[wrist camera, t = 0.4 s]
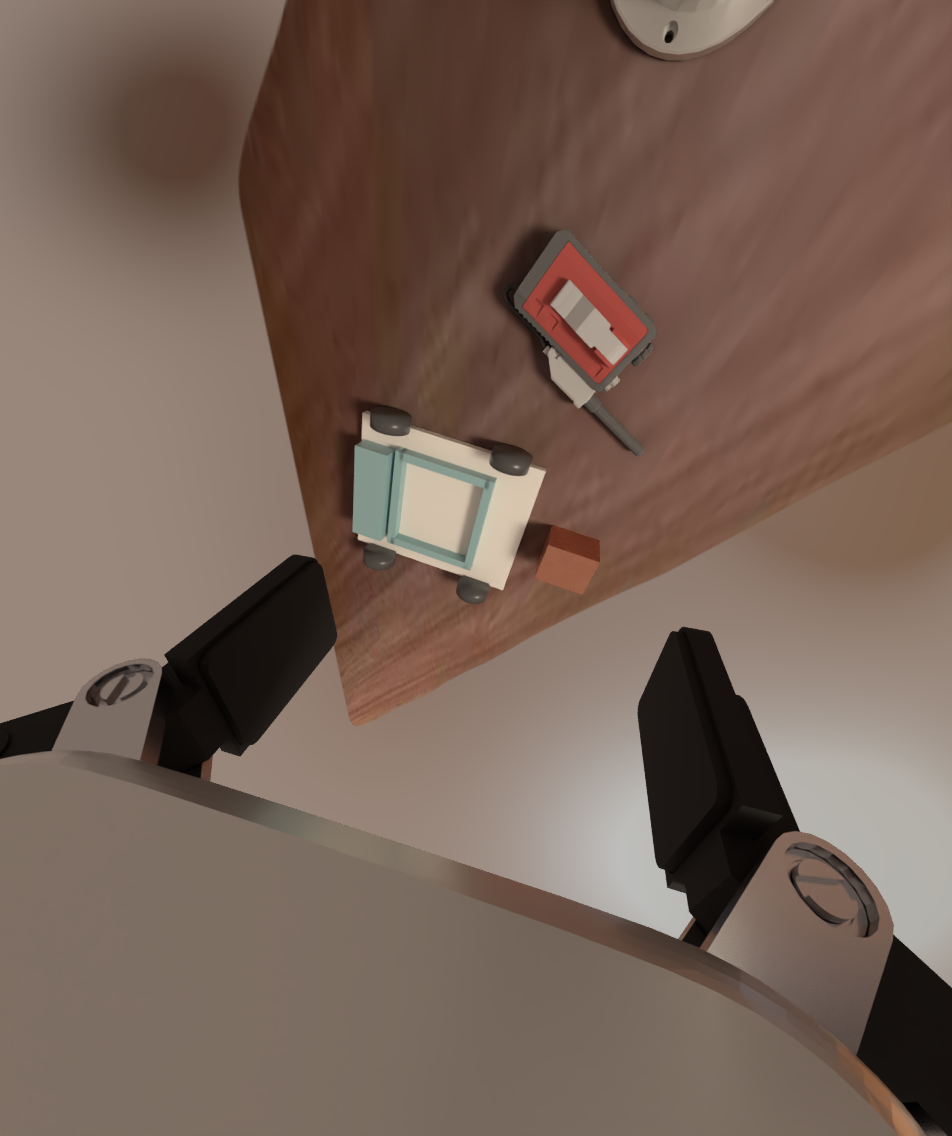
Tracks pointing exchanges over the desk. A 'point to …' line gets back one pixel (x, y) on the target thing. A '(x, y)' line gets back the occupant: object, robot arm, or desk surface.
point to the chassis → (440, 501)
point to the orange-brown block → (568, 560)
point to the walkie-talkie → (583, 325)
